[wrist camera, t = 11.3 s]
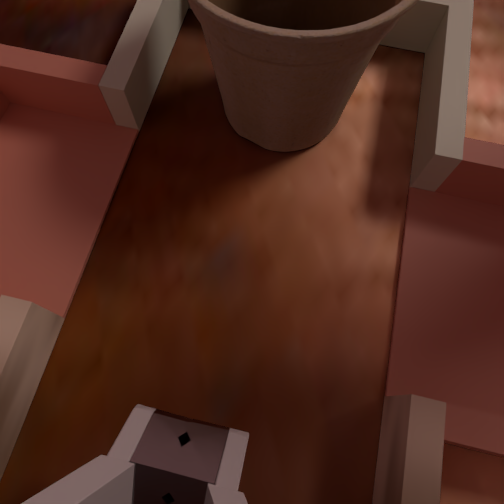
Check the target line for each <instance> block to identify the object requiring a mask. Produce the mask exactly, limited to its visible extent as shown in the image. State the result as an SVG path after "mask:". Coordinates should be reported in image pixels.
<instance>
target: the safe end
mask: <svg viewBox="0 0 504 504" xmlns="http://www.w3.org/2000/svg"><path fill="white" fill-rule="evenodd" d="M473 4H474V0H419V1H418V2H417V3H416V4H415V5H414V6H413V7H412V8H411V9H410V10H409V11H407V12H406V13H405V14H404V15H403V16H401V17H400V19H399V20H398V22H397V23H396V25H395V26H394V27H393V29H392V30H391V31H390V32H389V33H388V34H387V35H386V36H385V37H384V38H383V39H382V40H381V41H380V43H379V44H380V45H385V46H391V47H396V48H401V49H406V50H412V51H417V52H422V53H425V57H424V66H423V74H422V83H421V91H420V100H419V109H418V117H417V126H416V134H415V143H414V152H413V160H412V169H411V178H410V186H409V188H410V187H414V188H419V189H423V190H428V191H433V192H435V191H436V190H437V188H438V187H439V186H440V185H441V184H442V183H443V182H444V180H445V179H446V178H447V177H448V176H449V175H450V174H451V173H452V171H453V170H454V169H455V168H456V167H457V166H458V165H459V163H460V162H461V161H462V160H463V147H464V137H465V125H466V110H467V95H468V80H469V65H470V50H471V34H472V19H473ZM188 8H189V9H191V7H190V4H189V2H188V0H137V2H136V4H135V7H134V9H133V11H132V13H131V15H130V18H129V20H128V22H127V24H126V26H125V28H124V31H123V33H122V35H121V37H120V39H119V41H118V44H117V46H116V48H115V50H114V52H113V55H112V57H111V59H110V61H109V63H108V65H107V68H106V70H105V72H104V74H103V76H102V78H101V81H100V83H99V85H98V86H99V88H100V90H101V92H102V95H103V97H104V99H105V101H106V103H107V106H108V108H109V110H110V112H111V114H112V117H113V119H114V121H115V123H116V125H119V126H124V127H129V128H133V129H138V131H140V129H141V126H142V124H143V121H144V119H145V116H146V114H147V111H148V109H149V106H150V104H151V101H152V99H153V96H154V94H155V91H156V88H157V86H158V83H159V81H160V78H161V76H162V73H163V71H164V68H165V66H166V63H167V61H168V58H169V56H170V53H171V51H172V48H173V46H174V43H175V41H176V38H177V35H178V33H179V30H180V28H181V25H182V23H183V20H184V18H185V15H186V13H187V10H188Z"/></svg>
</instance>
